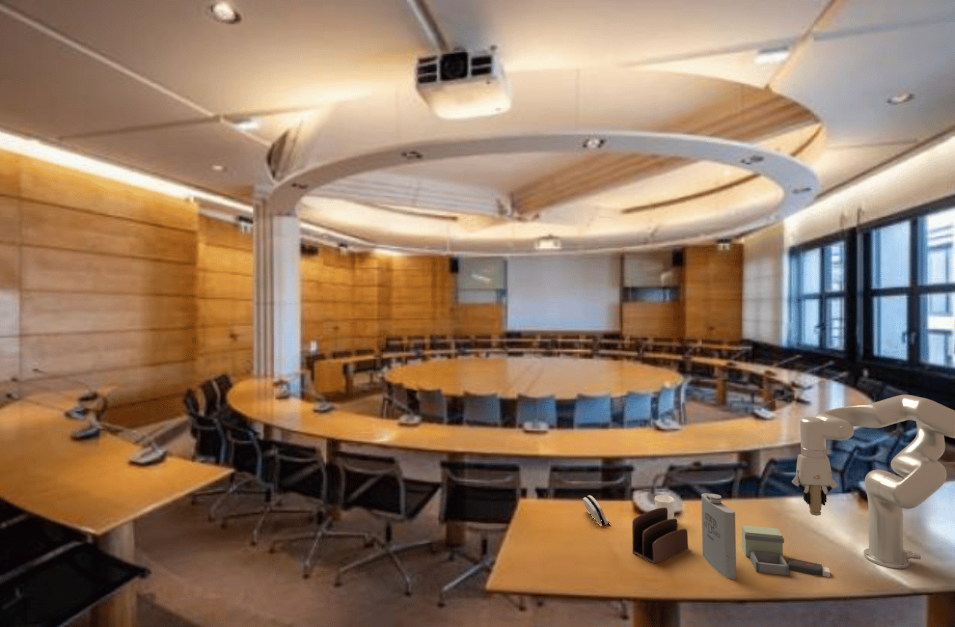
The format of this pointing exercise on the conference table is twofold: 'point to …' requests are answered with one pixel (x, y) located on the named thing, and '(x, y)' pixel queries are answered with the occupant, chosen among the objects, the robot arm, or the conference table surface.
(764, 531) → the green box on stand
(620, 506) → the conference table surface
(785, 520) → the conference table surface
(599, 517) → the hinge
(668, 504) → the white cup
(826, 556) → the conference table surface
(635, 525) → the letter holder
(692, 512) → the conference table surface
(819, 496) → the handle
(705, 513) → the flask
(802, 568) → the usb drive
